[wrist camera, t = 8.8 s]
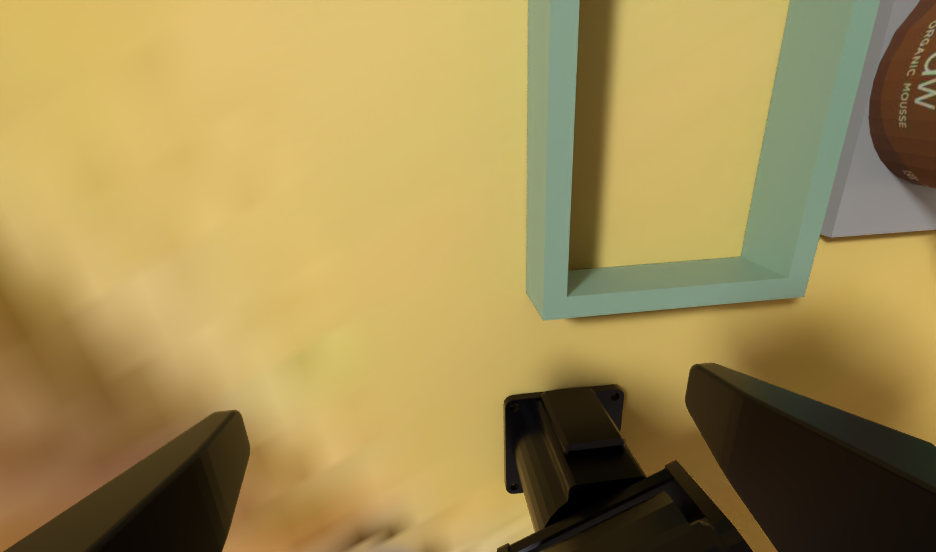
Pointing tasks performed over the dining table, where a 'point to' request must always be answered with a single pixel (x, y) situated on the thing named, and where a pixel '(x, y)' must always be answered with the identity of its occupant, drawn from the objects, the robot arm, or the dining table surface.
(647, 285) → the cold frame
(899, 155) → the food container
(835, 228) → the slate tile
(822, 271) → the dining table surface
